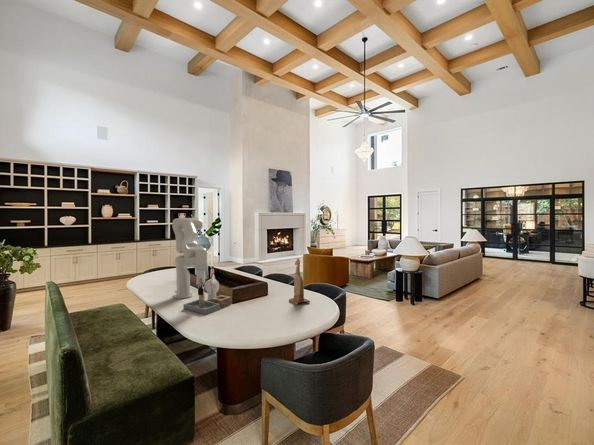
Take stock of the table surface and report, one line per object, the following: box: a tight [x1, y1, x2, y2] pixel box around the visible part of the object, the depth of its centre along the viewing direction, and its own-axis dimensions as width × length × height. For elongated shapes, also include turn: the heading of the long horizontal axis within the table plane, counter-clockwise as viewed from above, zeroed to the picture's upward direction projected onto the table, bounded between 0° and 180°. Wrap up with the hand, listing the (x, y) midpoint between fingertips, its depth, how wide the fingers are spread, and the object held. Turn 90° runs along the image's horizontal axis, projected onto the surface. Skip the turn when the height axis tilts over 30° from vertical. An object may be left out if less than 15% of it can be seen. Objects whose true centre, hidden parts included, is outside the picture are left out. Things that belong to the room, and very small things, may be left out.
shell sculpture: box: [204, 274, 220, 302], centre depth 213 cm, size 8×8×18 cm
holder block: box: [210, 294, 233, 309], centre depth 201 cm, size 10×10×5 cm
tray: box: [183, 299, 221, 316], centre depth 192 cm, size 20×13×4 cm, turn 59°
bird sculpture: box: [288, 257, 311, 307], centre depth 206 cm, size 11×12×32 cm
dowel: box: [198, 286, 206, 308], centre depth 192 cm, size 4×4×14 cm
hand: (201, 292), depth 192 cm, fingers open, 9 cm apart
